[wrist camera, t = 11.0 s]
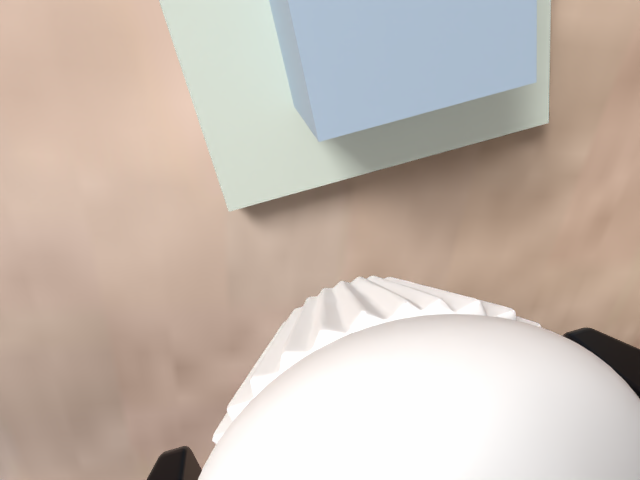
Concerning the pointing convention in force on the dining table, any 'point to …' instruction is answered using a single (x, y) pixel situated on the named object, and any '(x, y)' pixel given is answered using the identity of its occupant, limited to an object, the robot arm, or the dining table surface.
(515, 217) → the dining table surface
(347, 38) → the brick
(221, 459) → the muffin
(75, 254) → the dining table surface
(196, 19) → the pale green square slab
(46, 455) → the dining table surface
